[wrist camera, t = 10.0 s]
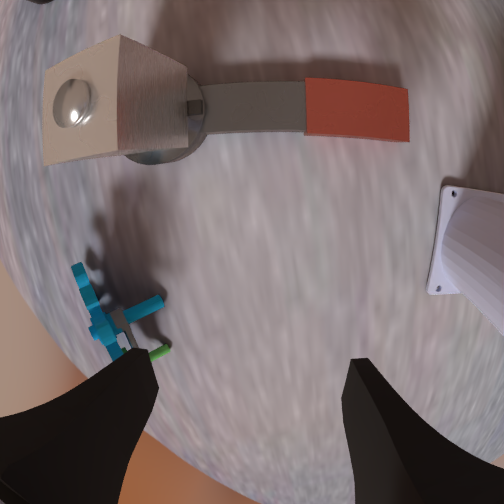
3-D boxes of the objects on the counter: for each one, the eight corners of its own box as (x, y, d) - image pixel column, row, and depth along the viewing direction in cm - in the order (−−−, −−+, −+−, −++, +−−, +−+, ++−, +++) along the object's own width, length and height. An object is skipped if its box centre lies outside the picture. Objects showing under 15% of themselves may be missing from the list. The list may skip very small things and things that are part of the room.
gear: (58, 249, 19) (73, 310, 12) (123, 223, 22) (176, 264, 15) (105, 353, 24) (146, 429, 17) (156, 328, 27) (212, 391, 20)
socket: (187, 67, 13) (113, 31, 7) (188, 147, 14) (110, 150, 8) (119, 83, 14) (39, 70, 8) (120, 155, 15) (37, 167, 9)
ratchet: (393, 74, 14) (429, 53, 9) (396, 163, 16) (435, 170, 11) (126, 83, 16) (82, 68, 11) (128, 166, 18) (82, 175, 13)
